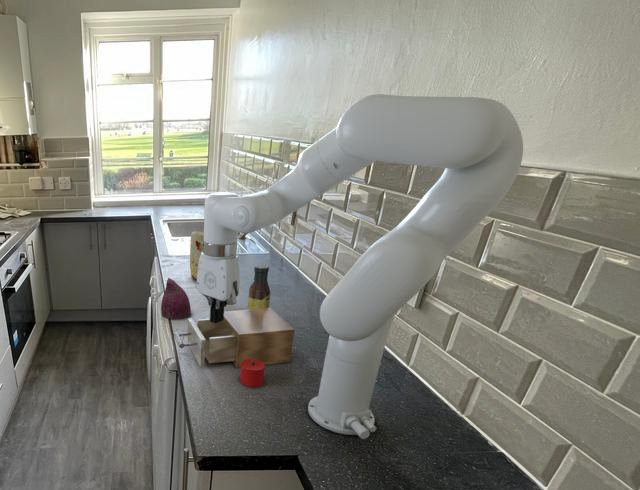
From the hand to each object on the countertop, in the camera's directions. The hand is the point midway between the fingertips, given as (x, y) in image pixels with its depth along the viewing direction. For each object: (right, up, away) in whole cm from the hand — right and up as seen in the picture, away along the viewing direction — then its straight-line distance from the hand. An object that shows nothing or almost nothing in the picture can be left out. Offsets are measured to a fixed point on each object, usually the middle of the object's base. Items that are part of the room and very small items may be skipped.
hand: (216, 321), depth 100 cm
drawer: (0, -9, +11) cm, 14 cm away
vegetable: (-6, +2, +38) cm, 39 cm away
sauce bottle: (+18, -2, +26) cm, 31 cm away
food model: (+7, +18, +70) cm, 73 cm away
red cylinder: (+8, -15, -1) cm, 17 cm away
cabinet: (+13, -9, +12) cm, 20 cm away
